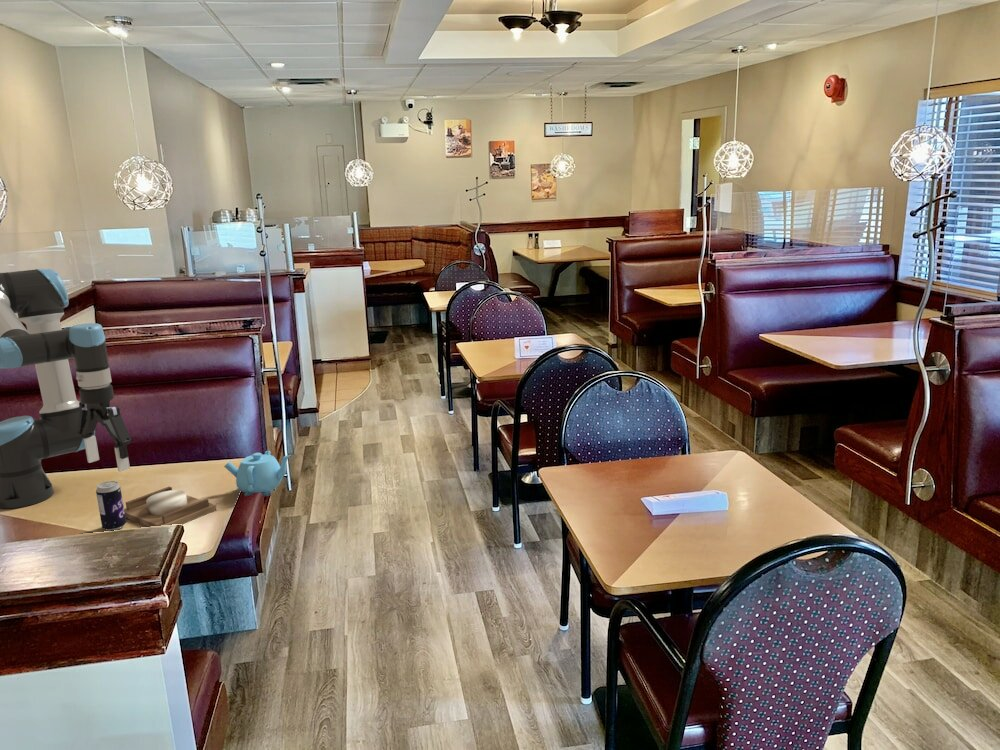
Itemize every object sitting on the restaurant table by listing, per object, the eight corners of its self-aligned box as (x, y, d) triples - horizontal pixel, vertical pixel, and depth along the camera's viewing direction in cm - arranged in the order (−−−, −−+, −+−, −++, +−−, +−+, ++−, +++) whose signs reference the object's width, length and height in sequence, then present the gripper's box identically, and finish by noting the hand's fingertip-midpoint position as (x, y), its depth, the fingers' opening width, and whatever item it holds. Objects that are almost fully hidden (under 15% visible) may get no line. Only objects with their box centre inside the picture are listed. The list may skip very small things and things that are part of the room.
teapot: (277, 477, 234) (273, 441, 231) (295, 490, 223) (291, 453, 220) (226, 490, 225) (221, 453, 222) (243, 504, 214) (238, 466, 212)
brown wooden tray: (120, 515, 210) (117, 500, 209) (173, 495, 222) (171, 480, 221) (163, 532, 199) (160, 516, 197) (216, 510, 211) (214, 494, 210)
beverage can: (116, 532, 199) (109, 489, 196) (97, 531, 200) (90, 488, 197) (131, 523, 204) (124, 481, 202) (112, 522, 206) (105, 480, 203)
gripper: (53, 383, 197) (67, 462, 202) (109, 395, 184) (123, 478, 189) (82, 377, 203) (95, 453, 208) (138, 387, 190) (151, 468, 195)
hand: (108, 465), depth 199 cm, fingers open, 13 cm apart
